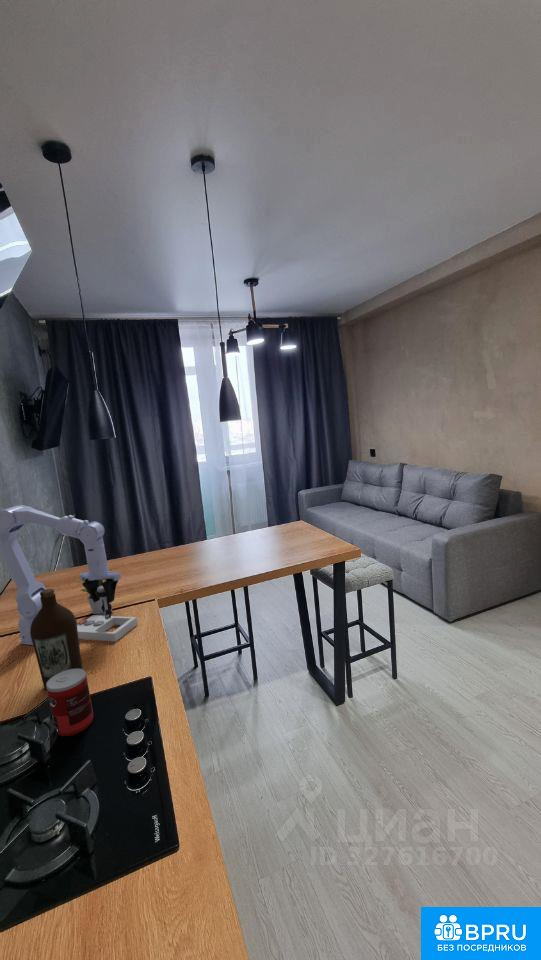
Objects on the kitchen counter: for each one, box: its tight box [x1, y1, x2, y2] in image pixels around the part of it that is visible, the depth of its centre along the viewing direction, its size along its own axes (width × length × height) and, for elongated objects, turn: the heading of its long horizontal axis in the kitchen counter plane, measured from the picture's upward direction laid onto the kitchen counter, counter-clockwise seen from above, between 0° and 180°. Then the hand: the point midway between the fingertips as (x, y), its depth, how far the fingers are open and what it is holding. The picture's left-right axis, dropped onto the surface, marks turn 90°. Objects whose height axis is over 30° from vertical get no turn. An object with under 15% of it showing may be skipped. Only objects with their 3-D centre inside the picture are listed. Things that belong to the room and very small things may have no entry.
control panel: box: [77, 614, 138, 642], centre depth 137 cm, size 18×11×3 cm, turn 71°
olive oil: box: [30, 588, 84, 692], centre depth 108 cm, size 11×11×25 cm
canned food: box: [46, 668, 94, 737], centre depth 92 cm, size 8×8×11 cm
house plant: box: [76, 567, 116, 615], centre depth 153 cm, size 14×14×16 cm
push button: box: [95, 586, 114, 620], centre depth 135 cm, size 7×5×10 cm
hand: (103, 601), depth 135 cm, fingers closed on push button, 5 cm apart
